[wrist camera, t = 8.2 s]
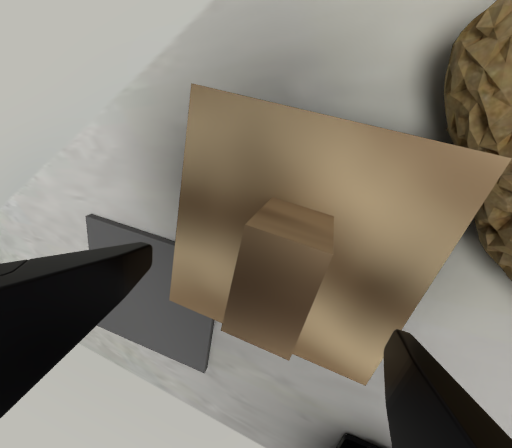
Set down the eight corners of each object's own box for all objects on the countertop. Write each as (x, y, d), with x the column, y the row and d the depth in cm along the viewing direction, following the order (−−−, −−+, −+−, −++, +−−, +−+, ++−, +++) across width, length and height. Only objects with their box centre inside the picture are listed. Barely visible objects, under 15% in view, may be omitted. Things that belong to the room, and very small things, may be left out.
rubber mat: (206, 368, 26) (204, 373, 26) (101, 321, 29) (96, 325, 28) (223, 258, 21) (220, 261, 20) (91, 214, 23) (85, 215, 23)
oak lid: (363, 370, 15) (376, 473, 10) (177, 291, 17) (122, 346, 13) (495, 156, 10) (637, 175, 5) (202, 87, 12) (122, 58, 8)
